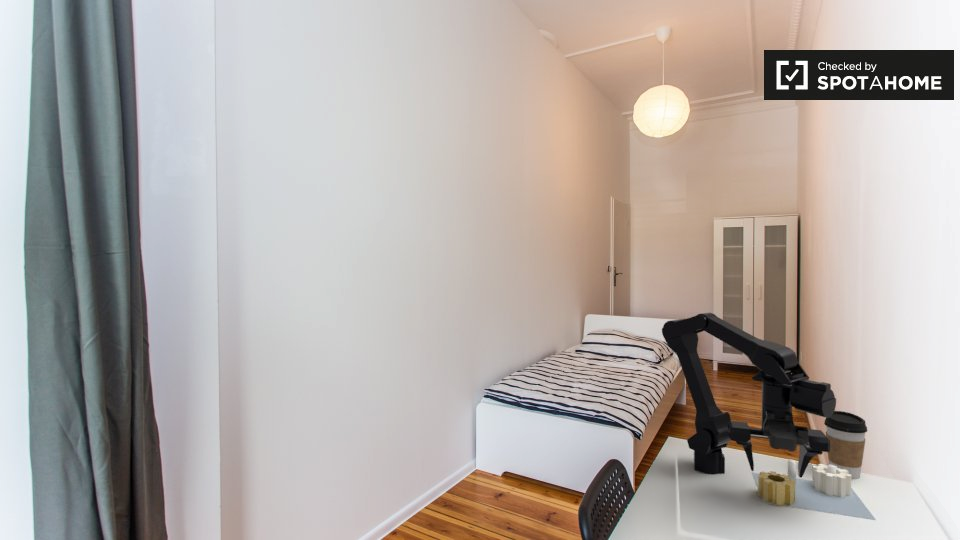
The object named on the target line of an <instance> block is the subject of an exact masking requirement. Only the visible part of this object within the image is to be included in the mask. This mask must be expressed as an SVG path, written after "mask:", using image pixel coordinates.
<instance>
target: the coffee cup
mask: <svg viewBox="0 0 960 540" xmlns="http://www.w3.org/2000/svg"><path fill="white" fill-rule="evenodd" d="M823 424H824V425H825V428H826V432H825V435H826V436H827V438H828V439H829V440H830V444H831V445H830V452H827V458H828V465H829V464H830V465H834V466H837V468H840V469H845V470H847V471H849V474H850V475H851V480H859V479H860V478H861V473H862V466H863V459H864V453H865V445H866V433H867V432H868V427H867V423H866V420H865V419H864V418H862V417H860V416H858V415H856V414H854V413H852V412H846V411H840V410H834V413H833V414H832V416H831V417H829V418H826V417H825V419H824V422H823Z"/></svg>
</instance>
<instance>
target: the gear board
mask: <svg viewBox="0 0 960 540" xmlns="http://www.w3.org/2000/svg"><path fill="white" fill-rule="evenodd" d="M827 472H828V473H832V474H836V466H834V465H830V464H829V463H828V464H827ZM751 475H752V477H753V479H754V482H755V485H756V487H757V489H758V475H760V472H759V473H758V472H751ZM787 476H789V478H790V479H792V480H795V502H794V505H792V506H789V505H787V504H786V505H783V506H782V507H789V508H795V509H802V510H807V511H813V512H820V513H827V514H833V515H840V516H847V517H852V518H853V517H854V518H858V519H860V518H861V519H865V520H872V521H876V518H875V516H874V515H873V514H872V513H871V511H870V510H869V509H868V507H867V506H866V505H865V504H864V502H863V501H862V500H861V498H860V497H859V495H858V494H856V492H855V490H853V488H852V487H851V495H850V496H849V495H846V497H845V498H841V497H839V496H835V495H832V496H829V495H826V493H824V492H822V491H817V490H816V489H815V486H813V480H810V479H803V478H802V479H801V478H797V461H796V460H794V459H787ZM760 498H761V500H762V503H763V504H768V505H769V504H770V505H776V503H772V502H766V501H764V500H763V497H760ZM776 506H777V505H776Z"/></svg>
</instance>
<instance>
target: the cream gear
mask: <svg viewBox="0 0 960 540" xmlns="http://www.w3.org/2000/svg"><path fill="white" fill-rule="evenodd" d="M827 465H828V464H827ZM827 465H826V464H824V463H818V464H817V465H813V466H812V481H813V486H815V489H816V490H817V491H822V492H824V493H826V495H829V496H832V495H835V496H839V497H841V498H845V497H846V495H849V496H850V495H851V488H852V479H851V475H850V474H849V471H847V470H845V469H840V468H837V466H836V474H832V473H828V472H827Z"/></svg>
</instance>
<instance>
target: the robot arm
mask: <svg viewBox="0 0 960 540" xmlns="http://www.w3.org/2000/svg"><path fill="white" fill-rule="evenodd" d="M702 332H706V333H707V334H709V335H711V336H713V337H714V338H715V339H718V340H719V341H721V342H722V343H723V342H724V343H725V344H727V345H728V346H730V347H731V348H733V349H735V350H737V351H739V352H740V353H742V354H743V355H745V356H746V357H747V358H748V359H749V361H750V362H751V363H752V365H754V366H755V367H756V368H757V369H758V370H759V371H758V373H756V374H755V375H753V376H752V377H751V379H752V380H753V381H755V382H760V383H761V428H755V427H750V426H749V424H748V422H745V421H735V420H731V415H730V413H729V412H728V411H725V412H723V410H721V409H720V408H719V407H718V405H717V404H716V401H715V398H714V395H713V391H712V389H711V386H710V384H709V380H708V378H707V375H706V373H705V370H704V367H703V363H702V362H701V359H700V356H699V354H698V344H699V336H698V335H699V334H700V333H702ZM661 333H662V336H663V339H664V341H665V343H666V344H667V347H668V348H669V349H670V350H672V351H673V352H674V354H676V356H677V359H678V361H679V364H680V367H681V370H682V373H683V376H684V379H685V382H686V385H687V388H688V391H689V392H690V396H691V399H692V402H693V405H694V408H695V418H694V427H695V431H696V433H694V434H693V435H692V436H690V437H689V438H687V440H686V442H687V446H688V448H689V449H691V450H692V451H693V469H694V471H698V472H699V473H702V474H705V475H713V476H714V475H718V474H719V475H724V474H725V472H726V470H725V469H726V463H725V462H726V458H725V457H726V456H725V454H724V453H723V449H724V448H727V447H728V443H730V442H732V441H733V442H735V443H736V444H737V445H739V446H742V448H743V450H744V452H745V455H746V459H747V461H748V465H749V469H750V470H751V472H754V468H755V465H754V464H755V463H754V456H753V444H752V442H751V438H759V439H767V440H768V441H769V446H770V447H771V448H772V449H774V450H786V451H787V450H788V451H789V452H796V451H797V450H798V449H799V450H798V460H797V461H798V463H797V470H798V471H797V475H798V477H799V479H801V478H802V479H803V476H804V474H805V472H806V470H807V468H808V466H809V464H810V462H811V461H812V460H813V458H814V457H816V456H818V455H823V453H824V452H825V453H828V452H830V445H831V444H830V440H829V439H828V438H827V436H826V433H825V432H824V431H822V430H820V429H813V428H812V429H811V428H808V427H807V426H799V425H795V422H794V416H793V414H794V413H793V408H794V409H795V410H797V411H799V412H803V413H808V414H811V415H815V416H819V417H822V418H825V419H826V418H829V417H831V416H832V414H833V413H834V411H836V406H837V405H836V404H837V398H836V397H835V396H836V395H835V393H834V391H833V390H832V389H831V387H832V385H831V383H828V382H824V381H823V382H821V381H813V380H810V376H809V375H808V374H807V372H806V371H805V369H804V368H803V366H802V365H801V364H800V362H799V361H798V357H797V355H796V352H795V351H794V350H793V349H792V348H790V347H788V346H785V345H782V344H779V343H777V342H773V341H769V340H764V339H761V338H758V337H756V336H754V335H753V334H750V333H749V332H747V331H745V330H743V329H741V328H740V327H737V326H736V325H734V324H731V323H730V322H728V321H726V320H724V319H722V318H720V317H718V316H717V315H716V314H715V313H713V312H703V313H698V314H696V315H694V316H691V317H688V318H681V319H673V320H667V321H666V322H664V324H663V326H662V328H661ZM787 373H790V374H787ZM798 446H799V447H798Z"/></svg>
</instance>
